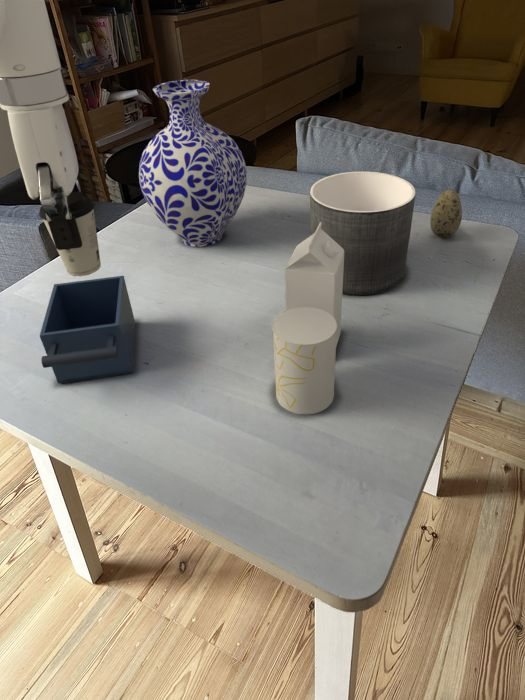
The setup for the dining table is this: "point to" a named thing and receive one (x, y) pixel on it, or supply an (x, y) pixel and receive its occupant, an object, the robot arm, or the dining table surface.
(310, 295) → the milk carton
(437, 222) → the decorative egg
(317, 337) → the cup
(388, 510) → the dining table surface
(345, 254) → the planter
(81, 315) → the blue drawer with handle
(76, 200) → the coffee cup
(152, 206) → the vase
